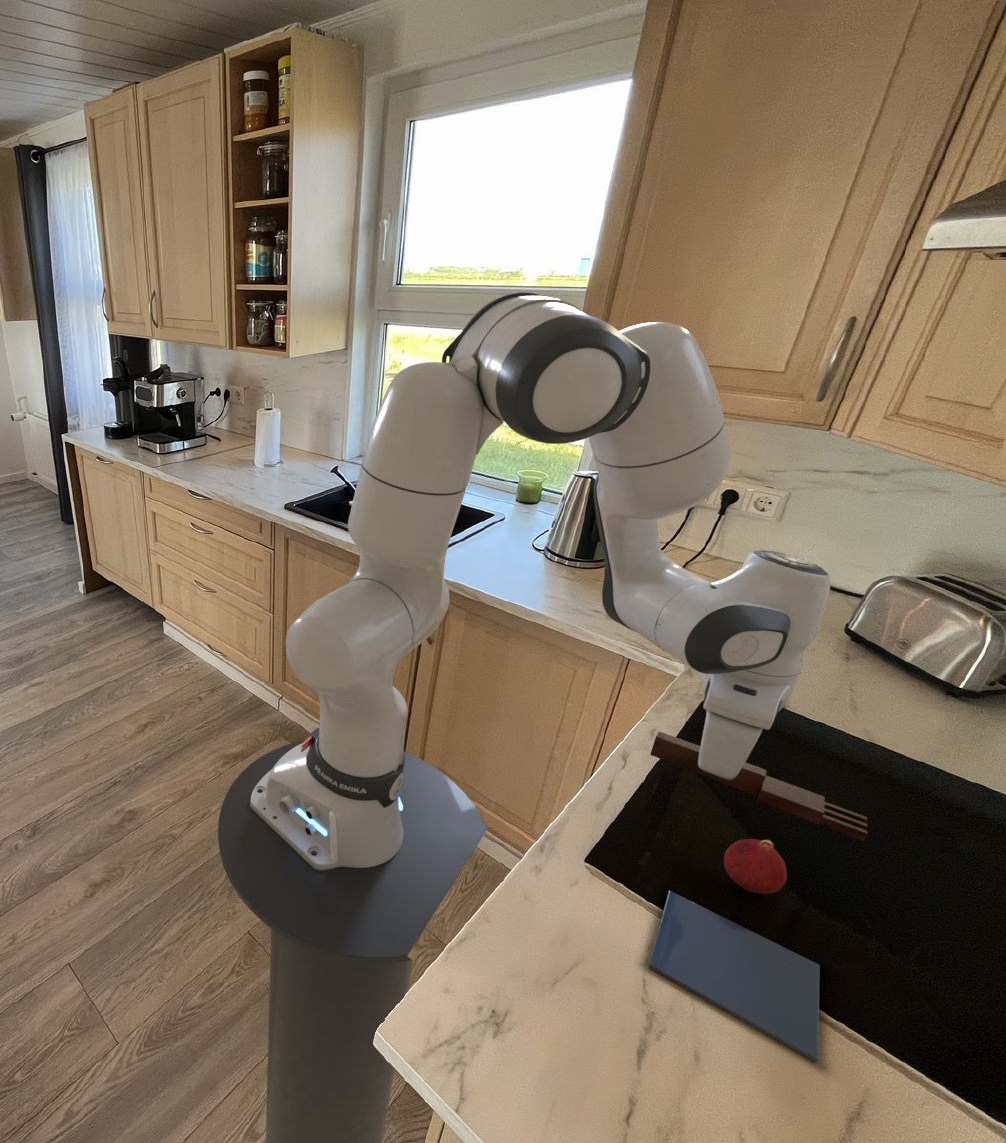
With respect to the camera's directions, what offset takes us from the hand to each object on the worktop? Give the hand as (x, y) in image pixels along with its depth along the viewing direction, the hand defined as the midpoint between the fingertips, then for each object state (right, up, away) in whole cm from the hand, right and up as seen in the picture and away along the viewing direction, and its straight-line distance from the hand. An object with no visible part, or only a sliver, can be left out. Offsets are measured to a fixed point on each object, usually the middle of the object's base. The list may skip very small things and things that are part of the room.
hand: (713, 764), depth 82 cm
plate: (-9, -17, -15) cm, 25 cm away
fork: (+3, -3, -2) cm, 4 cm away
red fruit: (-1, -13, -6) cm, 15 cm away
